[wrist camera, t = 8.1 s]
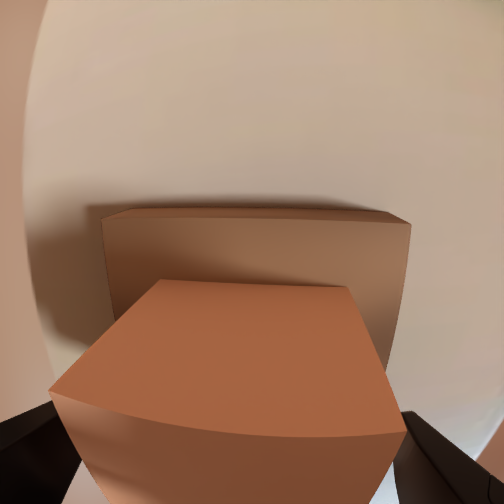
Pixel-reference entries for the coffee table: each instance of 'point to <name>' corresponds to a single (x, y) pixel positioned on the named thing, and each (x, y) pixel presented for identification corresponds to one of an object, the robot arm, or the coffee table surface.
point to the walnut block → (263, 254)
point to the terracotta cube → (233, 399)
